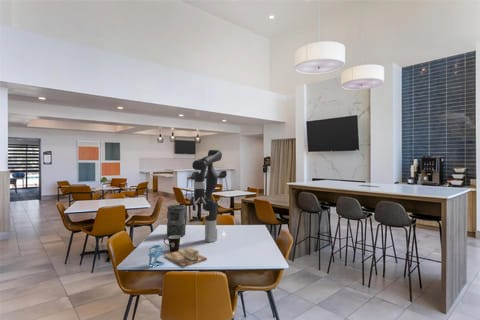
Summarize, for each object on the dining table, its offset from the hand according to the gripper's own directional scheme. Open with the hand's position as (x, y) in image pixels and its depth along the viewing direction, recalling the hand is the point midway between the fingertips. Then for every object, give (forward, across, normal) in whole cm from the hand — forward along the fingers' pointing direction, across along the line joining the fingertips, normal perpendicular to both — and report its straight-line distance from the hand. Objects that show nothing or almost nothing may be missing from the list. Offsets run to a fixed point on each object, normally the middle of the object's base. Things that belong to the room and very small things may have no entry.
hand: (199, 209), depth 197 cm
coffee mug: (+30, +13, -14) cm, 36 cm away
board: (+30, +15, +6) cm, 34 cm away
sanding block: (+29, +15, +13) cm, 35 cm away
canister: (+30, -9, -46) cm, 56 cm away
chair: (+30, +35, +3) cm, 46 cm away
